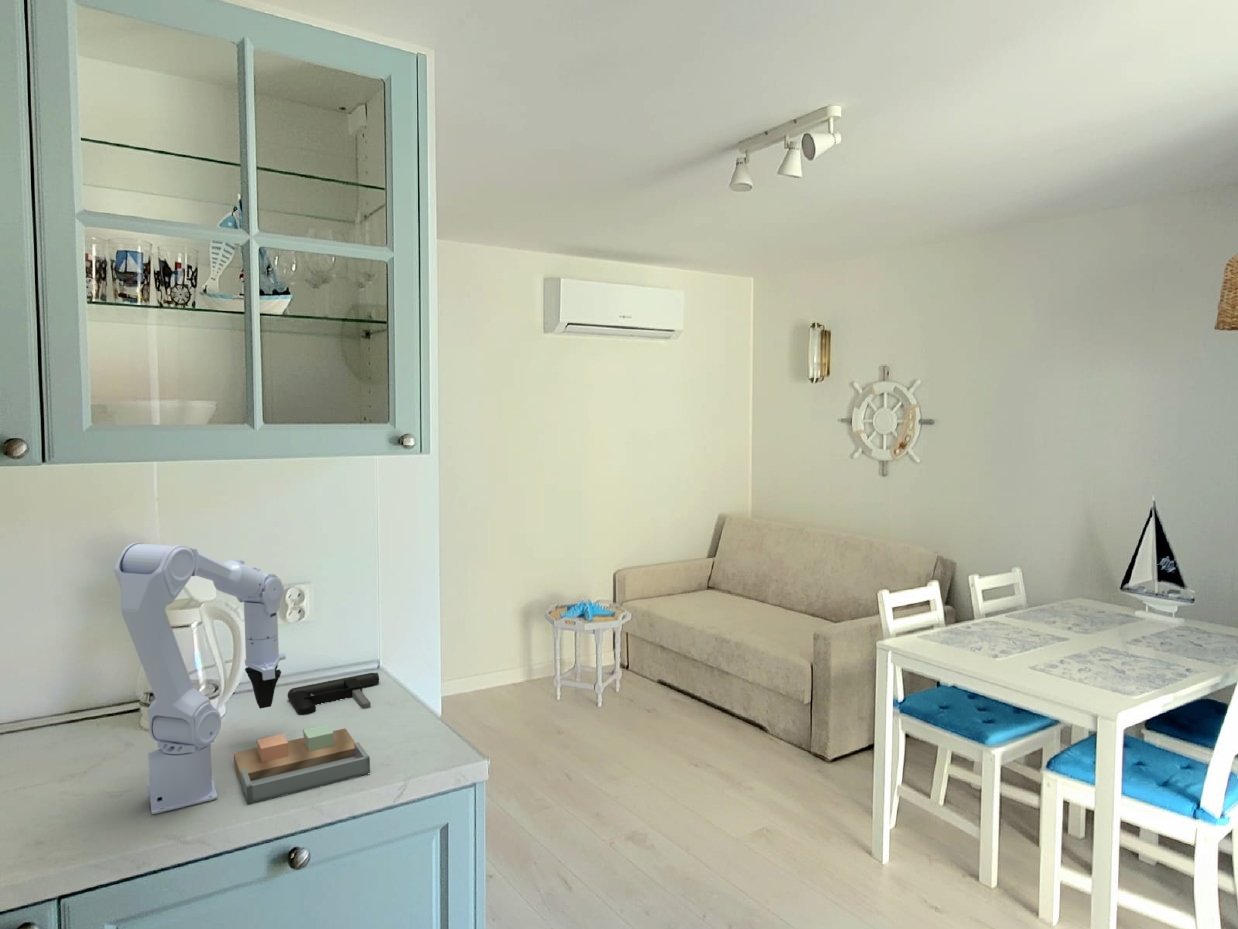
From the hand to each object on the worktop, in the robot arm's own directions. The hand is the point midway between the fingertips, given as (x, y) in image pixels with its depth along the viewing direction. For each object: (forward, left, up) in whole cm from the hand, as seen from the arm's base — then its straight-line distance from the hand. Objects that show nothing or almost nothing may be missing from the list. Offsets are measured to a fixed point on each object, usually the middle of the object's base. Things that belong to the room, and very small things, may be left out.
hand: (264, 705), depth 150 cm
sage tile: (+8, -8, -6) cm, 13 cm away
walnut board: (+4, -9, -8) cm, 13 cm away
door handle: (+18, +17, -9) cm, 26 cm away
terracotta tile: (0, -8, -6) cm, 11 cm away
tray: (+4, -18, -8) cm, 20 cm away
